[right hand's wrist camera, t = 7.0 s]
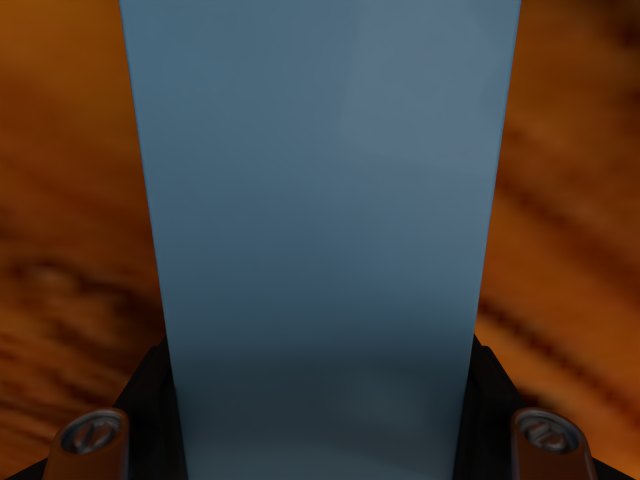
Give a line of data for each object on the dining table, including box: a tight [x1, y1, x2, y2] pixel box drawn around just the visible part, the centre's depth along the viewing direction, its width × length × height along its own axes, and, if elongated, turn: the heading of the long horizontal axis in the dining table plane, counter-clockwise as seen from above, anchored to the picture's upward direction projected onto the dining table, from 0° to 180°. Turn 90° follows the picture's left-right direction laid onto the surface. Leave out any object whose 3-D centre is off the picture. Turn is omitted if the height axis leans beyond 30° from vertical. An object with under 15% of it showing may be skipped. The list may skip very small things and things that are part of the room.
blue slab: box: [119, 0, 521, 480], centre depth 11 cm, size 21×6×11 cm, turn 0°
